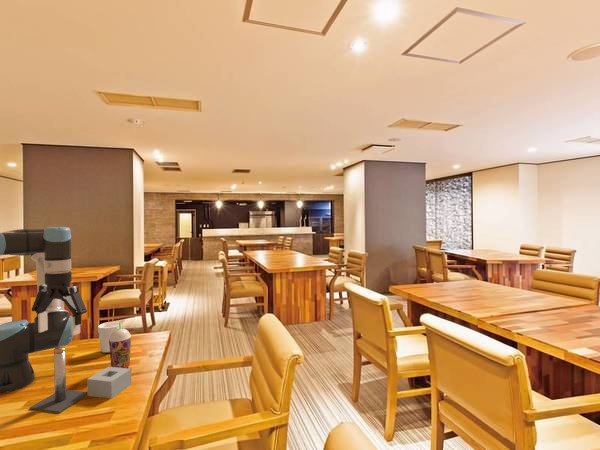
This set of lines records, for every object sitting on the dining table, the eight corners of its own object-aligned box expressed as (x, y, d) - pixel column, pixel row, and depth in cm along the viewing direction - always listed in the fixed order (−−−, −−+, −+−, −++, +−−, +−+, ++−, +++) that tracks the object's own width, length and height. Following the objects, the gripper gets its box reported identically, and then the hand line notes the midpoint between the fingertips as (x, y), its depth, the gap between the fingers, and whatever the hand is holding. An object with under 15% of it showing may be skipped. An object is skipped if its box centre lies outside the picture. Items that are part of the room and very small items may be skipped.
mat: (29, 409, 110) (29, 407, 110) (61, 390, 122) (61, 389, 122) (59, 413, 108) (59, 411, 108) (89, 394, 120) (89, 392, 120)
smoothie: (122, 375, 134) (121, 326, 134) (104, 373, 136) (103, 324, 135) (136, 366, 142) (135, 319, 142) (119, 364, 144) (118, 318, 143)
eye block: (87, 395, 119) (87, 379, 119) (108, 381, 129) (108, 366, 128) (111, 398, 117) (111, 381, 117) (131, 384, 127) (131, 368, 126)
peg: (59, 397, 117) (58, 346, 116) (68, 397, 116) (67, 346, 116) (52, 402, 113) (51, 350, 113) (61, 402, 113) (60, 350, 113)
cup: (104, 347, 163) (104, 321, 162) (125, 346, 164) (125, 320, 164) (94, 355, 153) (93, 328, 153) (116, 354, 154) (116, 327, 154)
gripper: (17, 272, 113) (19, 333, 113) (79, 275, 108) (80, 339, 109) (38, 268, 120) (40, 326, 121) (98, 271, 115) (98, 331, 116)
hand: (59, 332), depth 115 cm, fingers open, 13 cm apart
